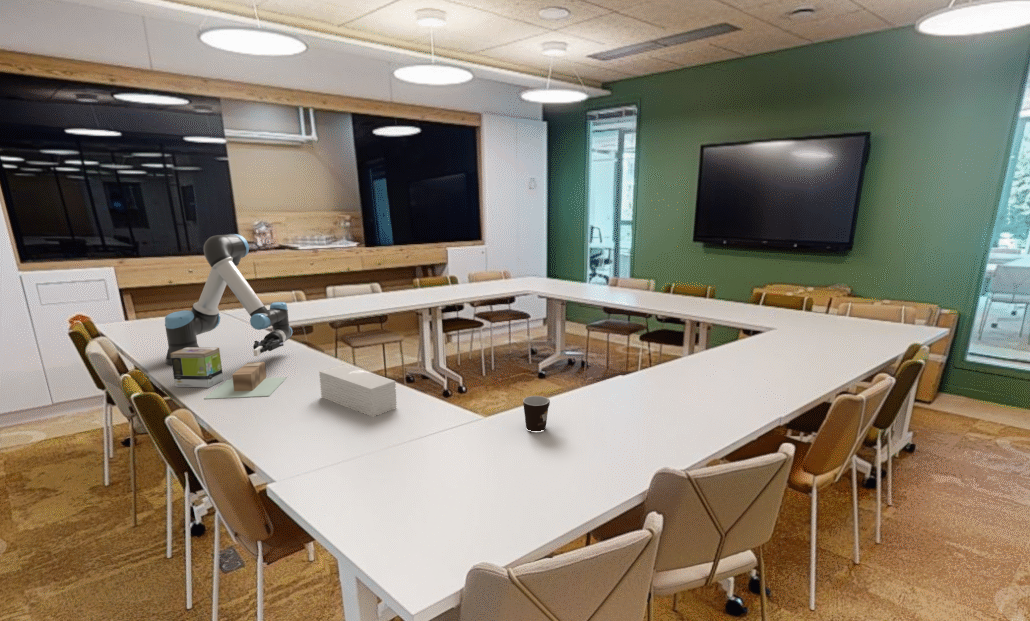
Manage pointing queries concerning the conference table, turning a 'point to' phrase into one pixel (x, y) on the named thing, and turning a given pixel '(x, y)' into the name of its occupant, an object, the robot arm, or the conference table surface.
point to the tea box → (197, 367)
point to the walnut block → (249, 376)
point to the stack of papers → (358, 390)
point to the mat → (260, 391)
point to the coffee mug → (536, 412)
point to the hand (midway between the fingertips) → (255, 353)
